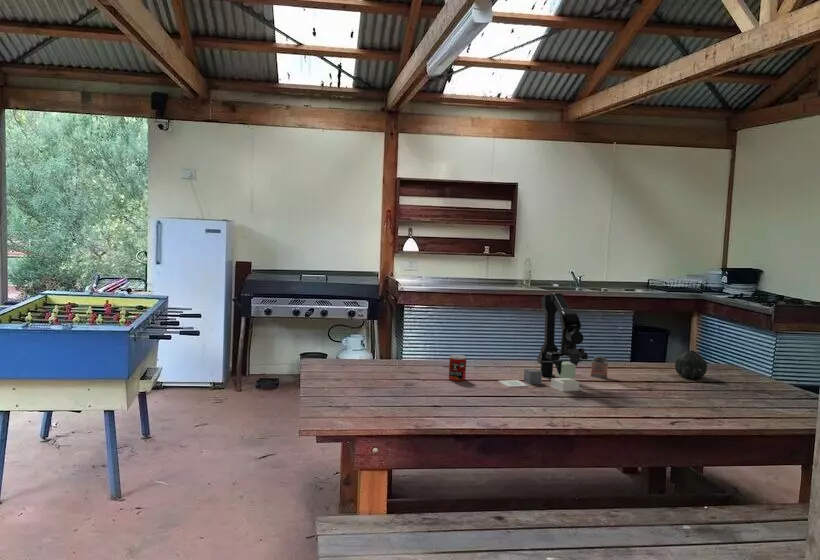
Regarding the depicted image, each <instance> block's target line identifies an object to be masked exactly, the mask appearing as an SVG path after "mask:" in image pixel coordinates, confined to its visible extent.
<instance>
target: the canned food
mask: <svg viewBox="0 0 820 560" xmlns="http://www.w3.org/2000/svg"><path fill="white" fill-rule="evenodd" d="M448 363H449V364H448V380H449V381H452V382H464V381H465V380H466V373H467V371H466V370H467V356H466V355H462V354H451V355H449V361H448Z"/></svg>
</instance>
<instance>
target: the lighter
mask: <svg viewBox="0 0 820 560" xmlns="http://www.w3.org/2000/svg"><path fill="white" fill-rule="evenodd" d="M607 361H608V358H607V357H601V356H594V358H593V360H591V368H590V369H591V371H590V377H593V378H599V379H608V365H609V362H607Z"/></svg>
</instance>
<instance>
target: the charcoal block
mask: <svg viewBox="0 0 820 560" xmlns="http://www.w3.org/2000/svg"><path fill="white" fill-rule="evenodd" d="M523 371H524V372H523V383H524V382H525V384H527V385H542V381H543V379H542V378H543V376H542V371H540V369H537V368H524V370H523Z"/></svg>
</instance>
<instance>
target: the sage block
mask: <svg viewBox="0 0 820 560" xmlns="http://www.w3.org/2000/svg"><path fill="white" fill-rule="evenodd" d="M576 368H577V366H576V365H575V364H573V363H570V361H563V362H562V363H561V374H560V375H559V374H558V371H557V370H556V373H555V376H558V378H570V379H576V370H577V369H576Z"/></svg>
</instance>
